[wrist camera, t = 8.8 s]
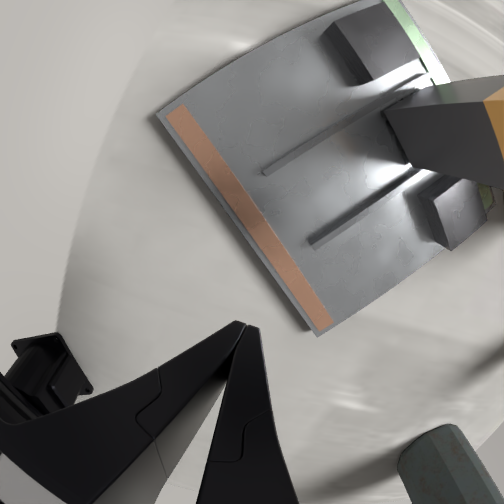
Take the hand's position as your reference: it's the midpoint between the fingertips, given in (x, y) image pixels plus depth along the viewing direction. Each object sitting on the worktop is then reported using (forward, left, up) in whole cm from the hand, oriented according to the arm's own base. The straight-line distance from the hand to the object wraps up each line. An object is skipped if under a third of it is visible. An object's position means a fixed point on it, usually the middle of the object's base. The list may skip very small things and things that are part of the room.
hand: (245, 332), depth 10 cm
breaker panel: (+9, +3, -11) cm, 14 cm away
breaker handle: (+13, +5, -9) cm, 17 cm away
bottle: (+17, -35, -11) cm, 40 cm away
